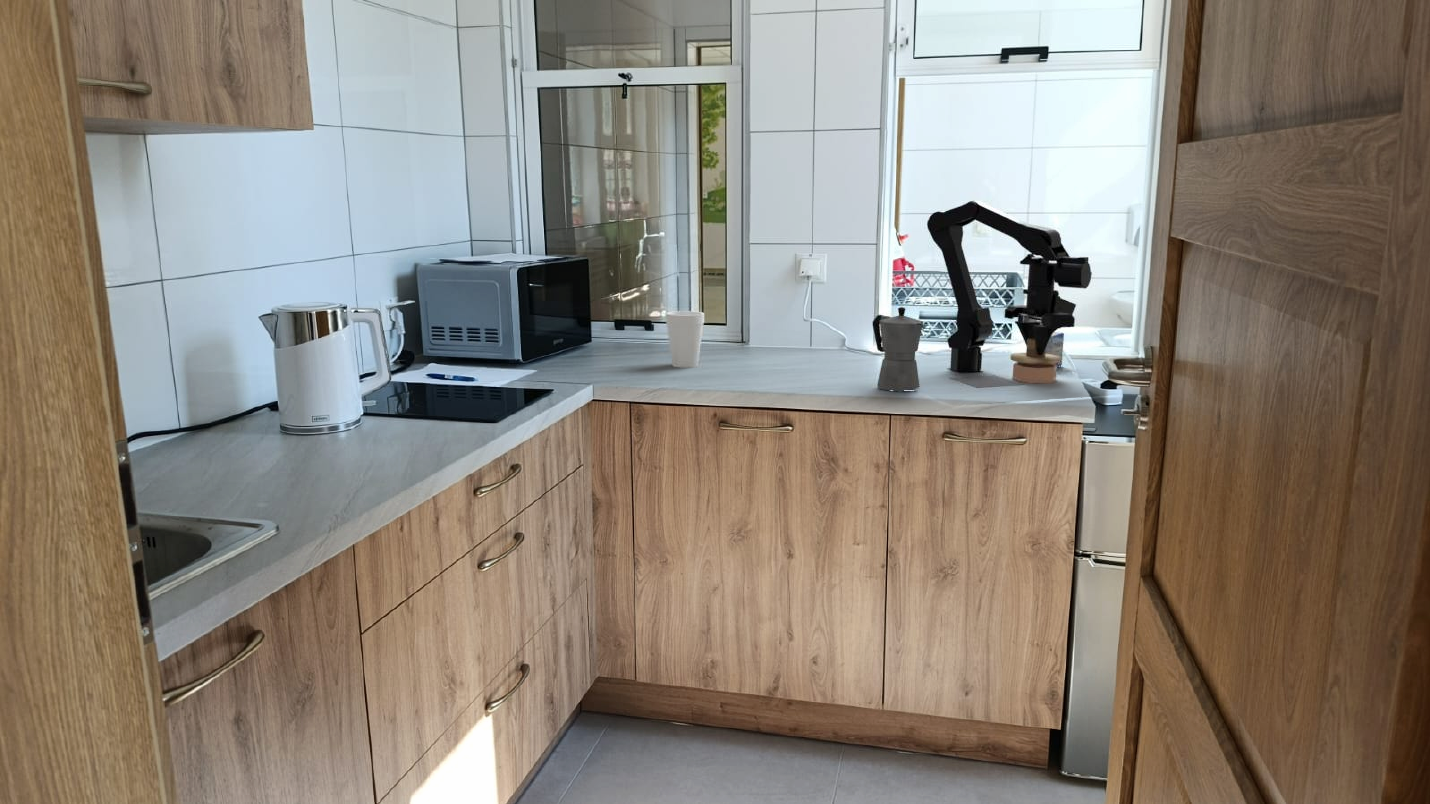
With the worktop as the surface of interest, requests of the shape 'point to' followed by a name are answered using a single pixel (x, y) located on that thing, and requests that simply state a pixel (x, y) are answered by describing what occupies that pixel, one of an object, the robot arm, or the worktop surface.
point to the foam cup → (685, 337)
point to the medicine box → (1056, 345)
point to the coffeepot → (898, 350)
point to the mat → (986, 381)
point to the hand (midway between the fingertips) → (1035, 353)
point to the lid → (1034, 355)
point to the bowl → (1034, 372)
